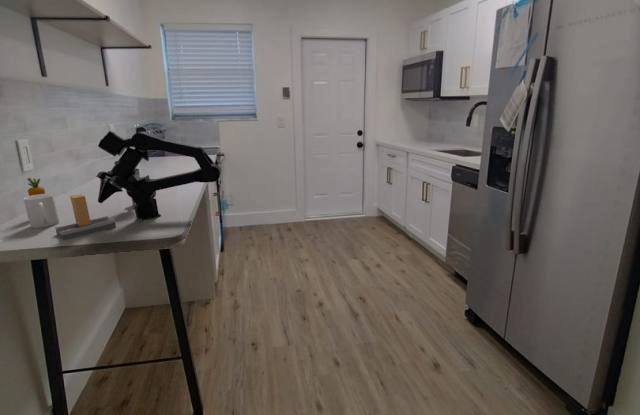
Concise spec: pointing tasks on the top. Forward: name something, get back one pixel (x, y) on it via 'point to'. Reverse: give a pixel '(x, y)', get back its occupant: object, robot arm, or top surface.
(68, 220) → the top surface
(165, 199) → the top surface
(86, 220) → the fader tab
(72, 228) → the rail
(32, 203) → the cup
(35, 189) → the carrot
